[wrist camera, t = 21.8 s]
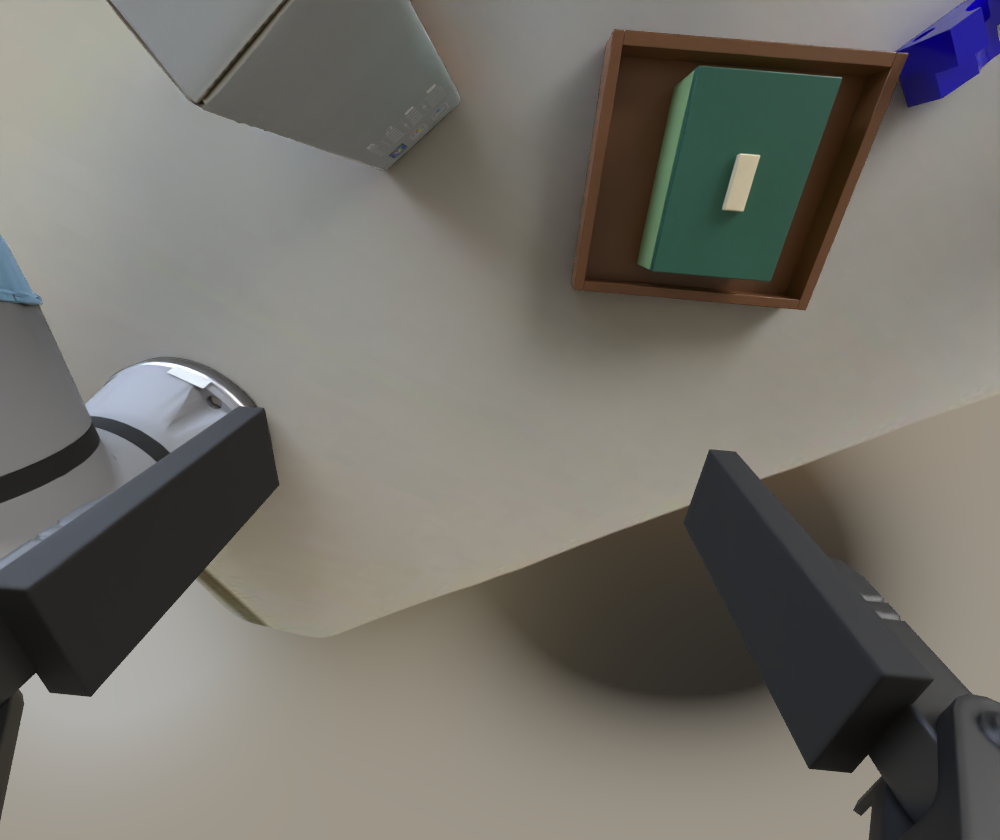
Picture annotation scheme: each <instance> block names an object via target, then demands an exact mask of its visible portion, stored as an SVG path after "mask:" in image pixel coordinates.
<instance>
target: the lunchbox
mask: <svg viewBox="0 0 1000 840" xmlns="http://www.w3.org/2000/svg"><path fill="white" fill-rule="evenodd" d="M841 80H842V77H832V76H820V75H808V74H796V73H784V72H771V71H759V70H747V69H735V68H723V67H710V66H699V67H698V68H696V69H695V70H694V71H693V72H691V73H690V74H689V75H688V76H687V77H685V78H684V79H683V80H682V81H681V82H679V83H678V84H677V85H676V86H674V89H673V94H672V99H671V103H670V108H669V113H668V118H667V122H666V127H665V132H664V137H663V141H662V146H661V151H660V156H659V160H658V165H657V170H656V174H655V179H654V184H653V189H652V193H651V198H650V203H649V208H648V212H647V217H646V222H645V227H644V231H643V236H642V241H641V246H640V250H639V255H638V260H637V264H638V265H640V266H642V267H645V268H647V269H649V270H651V271H653V272H664V273H675V274H686V275H698V276H709V277H721V278H732V279H743V280H755V281H766V282H770V281H771V279H772V276H773V273H774V270H775V267H776V264H777V262H778V259H779V256H780V253H781V250H782V247H783V245H784V242H785V239H786V236H787V233H788V230H789V228H790V225H791V222H792V219H793V216H794V213H795V211H796V208H797V205H798V202H799V199H800V196H801V194H802V191H803V188H804V185H805V182H806V179H807V177H808V174H809V171H810V168H811V165H812V162H813V160H814V157H815V154H816V151H817V148H818V146H819V143H820V140H821V137H822V134H823V131H824V129H825V126H826V123H827V120H828V117H829V114H830V112H831V109H832V106H833V103H834V100H835V97H836V95H837V92H838V89H839V86H840V83H841Z"/></svg>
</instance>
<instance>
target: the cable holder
mask: <svg viewBox="0 0 1000 840" xmlns="http://www.w3.org/2000/svg"><path fill="white" fill-rule="evenodd" d="M999 24H1000V0H966V1H964V2H963V3H962V4H960V5H959V6H957V7H956V8H955V9H953V10H952V11H951V12H949V13H948V14H946V15H945V16H944V17H942V18H941V19H940V20H938V21H937V22H935V23H934V24H933V25H931V26H930V27H928V28H927V29H926V30H924V31H923V32H922V33H920V34H919V35H917V36H916V37H915V38H913V39H912V40H911V41H909V42H908V43H906V44H905V45H904V46H902V47H901V48H899V49H898V50H897V51H895V52H896V53H897V52H899V53H908V57H907V59H906V61H905V64H904V66H903V69H902V71H901V74H900V76H899V77H900V81H901V84H902V88H903V91H904V95H905V98H906V102H907V105H908V107H911V106H915V105H919V104H922V103H926V102H930V101H934V100H937V99H941V98H943V97H944V96H946V95H947V94H949V93H950V92H952V91H953V90H955V89H956V88H958V87H959V86H961V85H962V84H964V83H965V82H967V81H968V80H970V79H971V78H973V77H974V76H976V75H977V74H979V73H980V70H981V68H982V67H983V66H984V65H985V64H986V63H988V62H989V61H990V60H991V59H993V58H994V57H995V56H997V55H998V54H1000V41H999V36H998V31H997V25H999Z"/></svg>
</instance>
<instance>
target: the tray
mask: <svg viewBox="0 0 1000 840" xmlns="http://www.w3.org/2000/svg"><path fill="white" fill-rule="evenodd" d="M907 57H908V53H899V52H897V53H896V52H887V51H874V50H862V49H850V48H838V47H826V46H813V45H801V44H789V43H777V42H765V41H752V40H740V39H728V38H716V37H704V36H691V35H679V34H667V33H655V32H643V31H630V30H625V31H624V30H616V29H614V30H613V32H612V34H611V36H610V38H609V40H608V42H607V44H606V49H605V55H604V62H603V69H602V76H601V82H600V89H599V96H598V103H597V110H596V116H595V123H594V130H593V137H592V143H591V150H590V157H589V164H588V170H587V177H586V184H585V191H584V197H583V204H582V211H581V218H580V224H579V231H578V238H577V245H576V252H575V258H574V265H573V272H572V279H571V285H572V287H573V288H574V289H575V290H585V291H596V292H607V293H618V294H630V295H641V296H652V297H663V298H675V299H686V300H697V301H708V302H720V303H731V304H742V305H753V306H765V307H776V308H787V309H798V310H806V308H807V305H808V303H809V300H810V298H811V295H812V293H813V290H814V288H815V285H816V283H817V280H818V278H819V275H820V273H821V271H822V268H823V266H824V263H825V261H826V258H827V256H828V253H829V251H830V248H831V246H832V243H833V241H834V238H835V236H836V233H837V231H838V228H839V226H840V223H841V221H842V218H843V216H844V213H845V211H846V208H847V206H848V203H849V201H850V198H851V196H852V193H853V191H854V188H855V186H856V183H857V181H858V178H859V176H860V173H861V171H862V168H863V166H864V164H865V161H866V159H867V156H868V154H869V151H870V149H871V146H872V144H873V141H874V139H875V136H876V134H877V131H878V129H879V126H880V124H881V121H882V119H883V116H884V114H885V111H886V109H887V106H888V104H889V101H890V99H891V96H892V94H893V91H894V89H895V86H896V84H897V81H898V79H899V76H900V74H901V71H902V69H903V66H904V64H905V61H906V59H907ZM699 66H710V67H723V68H735V69H747V70H759V71H771V72H784V73H796V74H808V75H820V76H832V77H842V80H841V83H840V86H839V89H838V92H837V95H836V97H835V100H834V103H833V106H832V109H831V112H830V114H829V117H828V120H827V123H826V126H825V129H824V131H823V134H822V137H821V140H820V143H819V146H818V148H817V151H816V154H815V157H814V160H813V162H812V165H811V168H810V171H809V174H808V177H807V179H806V182H805V185H804V188H803V191H802V194H801V196H800V199H799V202H798V205H797V208H796V211H795V213H794V216H793V219H792V222H791V225H790V228H789V230H788V233H787V236H786V239H785V242H784V245H783V247H782V250H781V253H780V256H779V259H778V262H777V264H776V267H775V270H774V273H773V276H772V279H771V281H770V282H766V281H755V280H743V279H732V278H721V277H709V276H698V275H686V274H675V273H664V272H653V271H651V270H649V269H647V268H645V267H642V266H640V265H638V264H637V260H638V255H639V250H640V246H641V241H642V236H643V231H644V227H645V222H646V217H647V212H648V208H649V203H650V198H651V193H652V189H653V184H654V179H655V174H656V170H657V165H658V160H659V156H660V151H661V146H662V141H663V137H664V132H665V127H666V122H667V118H668V113H669V108H670V103H671V99H672V94H673V89H674V86H676V85H677V84H678V83H679V82H681V81H682V80H683V79H684V78H685V77H687V76H688V75H689V74H690V73H691V72H693V71H694V70H695V69H696V68H698V67H699Z"/></svg>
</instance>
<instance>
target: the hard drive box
mask: <svg viewBox="0 0 1000 840" xmlns="http://www.w3.org/2000/svg"><path fill="white" fill-rule="evenodd" d="M106 2H107V3H108V4H109V5H110V7H111V8H112V9H113V10H114V12H115V13H116V14H117V15H118V17H119V18H120V19H121V20H122V21H123V23H124V24H125V25H126V26H127V28H128V29H129V30H130V31H131V32H132V34H133V35H134V36H135V37H136V38H137V40H138V41H139V42H140V43H141V44H142V46H143V47H144V48H145V49H146V50H147V52H148V53H149V54H150V55H151V56H152V58H153V59H154V60H155V61H156V62H157V64H158V65H159V66H160V67H161V68H162V70H163V71H164V72H165V73H166V74H167V75H168V77H169V78H170V79H171V80H172V81H173V82H174V84H175V85H176V86H177V87H178V88H179V90H180V91H181V92H182V93H183V94H184V95H185V97H186V98H187V99H188V100H189V101H191V102H192V103H194V104H196V105H197V106H199V107H201V108H203V110H206V111H209V112H212V113H214V114H217V115H220V116H223V117H225V118H228V119H231V120H234V121H236V122H238V123H245V124H247V125H249V126H253V127H257V128H260V129H263V130H265V131H270V132H273V133H275V134H278V135H281V136H284V137H287V138H290V139H293V140H295V141H298V142H301V143H304V144H307V145H310V146H313V147H316V148H318V149H321V150H324V151H327V152H330V153H333V154H336V155H339V156H341V157H344V158H347V159H350V160H353V161H356V162H358V163H361V164H364V165H367V166H370V167H372V168H375V169H378V170H382V169H383V170H387V169H388V168H389V167H390V166H391V165H392V164H394V163H395V162H396V161H397V160H398V159H399V158H400V157H401V156H403V155H404V154H405V153H406V152H407V151H408V150H409V149H410V148H412V147H413V146H414V145H415V144H416V143H417V142H418V141H419V140H420V139H421V138H422V137H423V136H424V135H426V134H427V133H428V132H429V131H430V130H431V129H432V128H433V127H434V126H436V125H437V124H438V123H439V122H440V121H441V120H442V119H443V118H444V117H445V116H446V115H447V114H448V113H449V112H451V111H452V110H453V109H454V108H455V107H456V106H457V105H458V104H459V103H460V100H461V98H460V96H459V94H458V92H457V90H456V87H455V85H454V83H453V81H452V80H451V78H450V76H449V74H448V72H447V70H446V68H445V66H444V64H443V62H442V60H441V59H440V57H439V55H438V53H437V51H436V49H435V48H434V46H433V44H432V42H431V40H430V38H429V37H428V35H427V33H426V31H425V29H424V27H423V26H422V24H421V22H420V20H419V18H418V16H417V14H416V12H415V11H414V9H413V7H412V5H411V3H410V1H409V0H106Z"/></svg>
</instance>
